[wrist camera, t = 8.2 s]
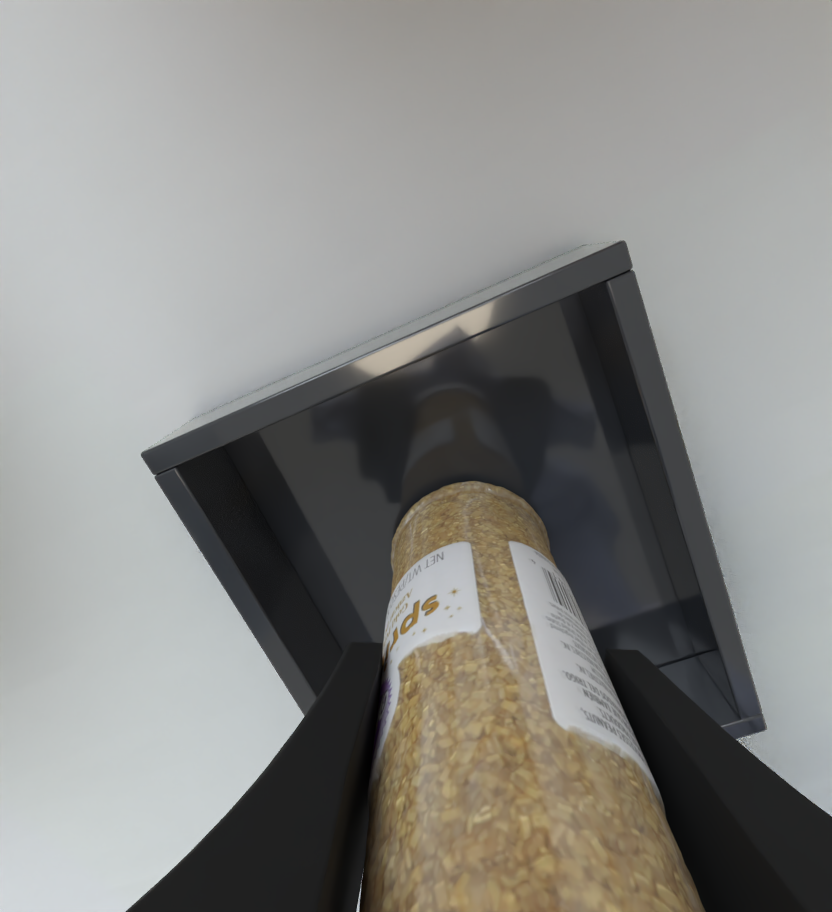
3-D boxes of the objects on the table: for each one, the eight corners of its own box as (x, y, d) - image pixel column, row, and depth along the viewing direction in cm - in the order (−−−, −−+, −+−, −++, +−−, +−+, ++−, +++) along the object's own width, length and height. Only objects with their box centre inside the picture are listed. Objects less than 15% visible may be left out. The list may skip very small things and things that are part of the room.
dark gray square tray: (712, 654, 17) (768, 731, 14) (390, 756, 19) (384, 843, 16) (583, 244, 13) (625, 238, 11) (192, 418, 15) (138, 454, 12)
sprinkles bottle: (379, 488, 15) (125, 1631, 2) (543, 466, 15) (1218, 1640, 2) (405, 625, 17) (330, 1780, 4) (555, 608, 16) (997, 1800, 4)
